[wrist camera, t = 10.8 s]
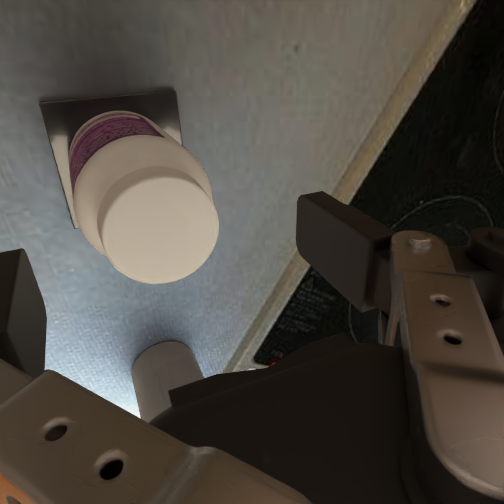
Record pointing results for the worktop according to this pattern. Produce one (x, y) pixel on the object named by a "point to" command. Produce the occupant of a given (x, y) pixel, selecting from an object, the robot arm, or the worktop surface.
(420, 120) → the worktop surface
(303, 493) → the robot arm
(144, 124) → the pill bottle
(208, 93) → the worktop surface
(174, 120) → the metal coaster
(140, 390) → the grey hollow cylinder
